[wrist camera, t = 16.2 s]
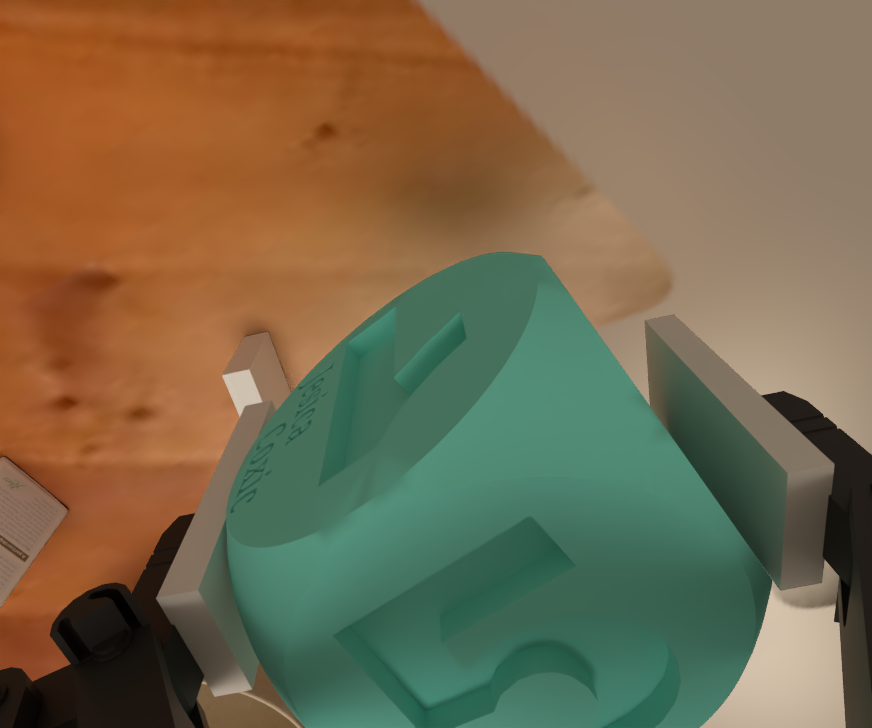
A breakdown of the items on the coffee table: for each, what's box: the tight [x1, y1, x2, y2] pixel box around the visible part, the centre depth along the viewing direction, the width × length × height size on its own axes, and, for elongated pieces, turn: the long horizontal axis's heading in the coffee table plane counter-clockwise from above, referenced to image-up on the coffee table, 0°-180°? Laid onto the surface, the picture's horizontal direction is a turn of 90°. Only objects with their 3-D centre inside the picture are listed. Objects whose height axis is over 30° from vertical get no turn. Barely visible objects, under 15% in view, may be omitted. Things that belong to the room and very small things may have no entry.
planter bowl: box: [197, 662, 305, 728], centre depth 42 cm, size 16×16×11 cm
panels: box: [222, 332, 291, 416], centre depth 37 cm, size 16×15×5 cm
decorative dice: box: [226, 252, 772, 728], centre depth 13 cm, size 8×8×8 cm
